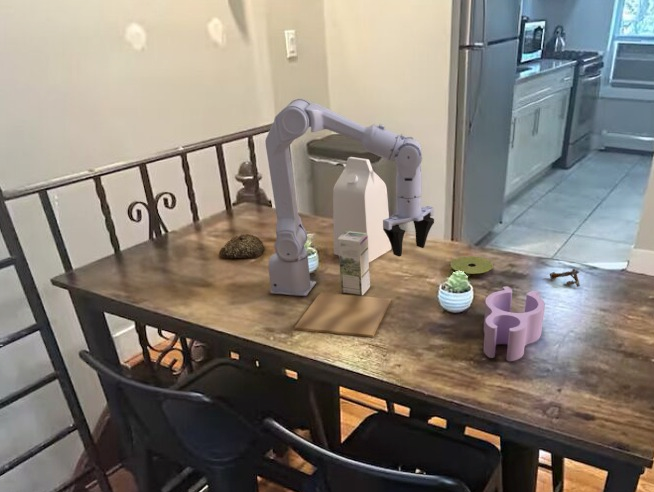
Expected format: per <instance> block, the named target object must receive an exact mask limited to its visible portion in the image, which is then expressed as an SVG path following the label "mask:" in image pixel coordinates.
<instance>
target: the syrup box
mask: <svg viewBox="0 0 654 492" xmlns="http://www.w3.org/2000/svg"><path fill="white" fill-rule="evenodd" d="M338 250H339V255H338V263H339V264H338V265H339V274H340V275H339V276H340V286H341V287H340V289H341V294H345V295H354V296H364V294H366V293H367V291H368V290H369V289H370V288H371V278H370V277H371V276H370V262H369V253H368V234H367V233H361V232H352V231H346V232H344V233H343V234H342V235H341V236H340V237H339V238H338Z"/></svg>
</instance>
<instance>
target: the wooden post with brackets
mask: <svg viewBox="0 0 654 492" xmlns="http://www.w3.org/2000/svg"><path fill="white" fill-rule="evenodd" d="M578 274H580V270H578V269H576V268H572V269H571V271H568V270H567V271H563V272H555V271H551V272H550V273H549V278H550V281H554V280H556V279H557V278H561V277H562V278H565V277H568V276H571V277H572V280H568V281H566V283H565V284H566V285H567V286H574V285H576V288H578V287H580V286H581V285H580V280H579V278H578ZM573 279H574V280H573Z"/></svg>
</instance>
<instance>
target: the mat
mask: <svg viewBox="0 0 654 492" xmlns="http://www.w3.org/2000/svg"><path fill="white" fill-rule="evenodd" d="M450 268H451V269H453V270H454V271H456V270H460V271H464V272H466V273H465V274H468V275H469V274H471V275H472V274H473V275H475V274H483V273H487V272H489V271H491V270H492V269H493V268H494V264H493V262H492V261H491V260H489V259H487V258H484V257H479V256H462V257H457V258H455V259H453V260H452V261H451V262H450Z"/></svg>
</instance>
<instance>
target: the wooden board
mask: <svg viewBox="0 0 654 492" xmlns="http://www.w3.org/2000/svg"><path fill="white" fill-rule="evenodd" d="M391 302H392V298H389V297H388V298H387V297H376V296H366V295H362V296H360V295H353V294H344V293H329V292H319V293H318V295H317V296H316V298H315V299H314V300H313V302H312V303H311V304H310V305H309V307H308V308H307V309H306V311H305V312H304V313H303V315H302V316H301V317H300V319H299V321H298V322H297V323H296V324H295V326H294V329H293V330H295V331H303V332H304V331H306V332H315V333H316V332H317V333H326V334H336V335H347V336H357V337H365V338H367V337H368V338H373V337H374V336H375V334H376V331H377V330H378V328H379V326H380V324H381V322H382V321H383V318H384V316H385V314H386V312H387V310H388V308H389V307H390V305H391Z"/></svg>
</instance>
